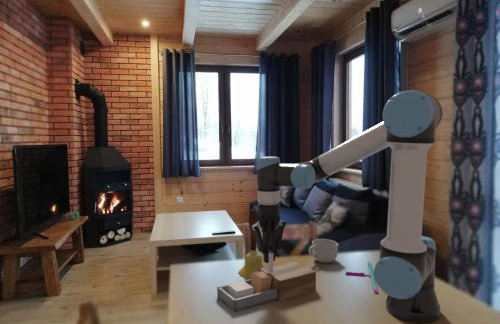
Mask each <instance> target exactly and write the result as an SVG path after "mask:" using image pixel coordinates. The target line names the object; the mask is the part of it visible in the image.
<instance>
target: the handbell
mask: <svg viewBox="0 0 500 324" xmlns="http://www.w3.org/2000/svg"><path fill="white" fill-rule="evenodd" d="M257 219H258V213H257V210H256V209H254V208H252V209H251V208H250V210H249V216H248V228H249V232H250V251H249V252H248V253H247V254H246V255H245V257H244V265H243V266H242V267H241V268H240V269H239V270H238V273H237V274H239V275H240V276H241V278H242V277H243V278H244V279H246V280H248V279H252V272H259V269H260V268H264V267H265V266H264V264H263V256H262V254H261V253H259V252H258V250H257V243H256V239H255V234H254V231H253V229H252V228H251V225H255V224H256V223H257ZM239 275H238V276H239ZM240 276H239V277H240Z"/></svg>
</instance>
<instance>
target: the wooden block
mask: <svg viewBox="0 0 500 324" xmlns="http://www.w3.org/2000/svg"><path fill="white" fill-rule="evenodd" d="M260 271H262V272H264V273H266V274H268V275H269V276H271V277H272V280H271V289H275V288H276V289H277V300H279V301H283V300H286V299H289V298H294V297H296V296H300V295H304V294H306V293H310V292H314V291H317V272H316V270H313V269H311V268H310V267H307V266H304V265H303V264H301V263H299V262H297V261H294V260H292V261H287V262H281V263H278V264H273V272H272V273H269V272H267V271H266V270H265V266H264V268H260V269H259V272H260ZM271 289H270V290H271Z"/></svg>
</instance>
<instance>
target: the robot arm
mask: <svg viewBox="0 0 500 324" xmlns="http://www.w3.org/2000/svg"><path fill="white" fill-rule="evenodd" d="M443 114H444V113H443V107H442V105H441V103H440V101H438V99H437V98H436V97H435V96H433V95H431V94H428V93H425V91H424V92H423V91H420V90H418V89H417V90H416V89H415V90H414V89H410V90H403V91H399V92H398V93H397V92H396V93H395V94H394V95H393V96H391V97H390V98H389V99H388V100H387V101H386V103H385V105H384V107H383V110H382V121H381V122H380V123H378V124H376V125H374V126H372V127H370V128H369V129H367V130H365V131H362V132H361V133H359V134H357V135H355V136H354V137H352V138H350V139H348V140H346V141H344V142H343V143H341V144H339V145H337V146H335V147H333V148H331V149H330V150H328V151H326V152H324V153H322V154H320V155H318V156H317V157H315V158H313V159H311V160H309V161H304V162H298V163H283V162H281V159H280V157H279V156H260V157H258V158H257V160H256V161H257V162H256V163H257V165H256V176H257V177H256V179H257V223H256V224H255V225H251V228H252V229H253V231H254V234H255V239H256V248H257V252H260V253H262V254H263V256H262V260H263V263H265V264H264V265H265V266H264V267H265V270H266V271H267V272H269V273H272V272H273V265H274V262H275V260H276V254H277V253H278V251H279V250H280V249H281V246H282V240H283V235H284V229H285V227H286V225H287V221H284V220H283V219H281V216H280V214H281V204H280V202H281V187H284V188H296V189H310V188H312V187H313V185H314V184H315V183H320V182H322V181H324V180H325V179H327V178H328V177H330V176H332V175H333V174H335V173H339V172H340V171H342V170H344V169H346V168H348V167H350V166H353V165H354V164H357V163H359V162H360V161H362V160H364V159H366V158H368V157H370V156H373V155H374V154H376V153H378V152H381V151H382V150H385V149H387V148H389V147H390V149H391V159H390V176H389V189H388V190H389V191H388V194H389V195H388V208H387V209H388V210H387V225H386V226H387V227H386V236H385V237H384V238H383V239H382V240H380V244H379V245H380V247H379V260H378V261H376V264H375V266H374V268H373V275H374V279H375V283H376V286H378V287H379V289H380V290H382V292H383V293H384V294H385V295H387V296H386V299H385V308H386V310H387V312H388V313H390V314H391V315H393V316H394V317H396V318H399V319H402V320H405V321H408V322H414V323H432V322H435V321H438V320H439V319H440V318H441V305H440V303H439V300H438V295H437V292H436V289H435V284H436V283H435V280H436V277H435V276H436V251H437V246H436V241H435V240H434V239H433V238H431V237H428V236H425V235H423V233H422V232H423V219H424V206H425V205H424V204H425V192H426V191H425V188H426V175H427V158H428V150H429V149H430V148H431V147H433V146H434V145H435V141H436V139H435V138H436V129H437V128H438V127H439V125H440V124H441V122H442V119H443Z"/></svg>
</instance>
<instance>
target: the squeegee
mask: <svg viewBox="0 0 500 324" xmlns="http://www.w3.org/2000/svg"><path fill="white" fill-rule="evenodd" d="M367 265H368V271H369V272H368V274H365V272H353V271H345V275H346V276H353V277H354V276H355V277H357V276H358V277H368V278H370V280H371V283H372V287H373V292H374V294H375V295H378V294H379V293H378V288H377V283H376V281H375V277H374V270H373V267H372V263H371V261H368V262H367Z"/></svg>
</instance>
